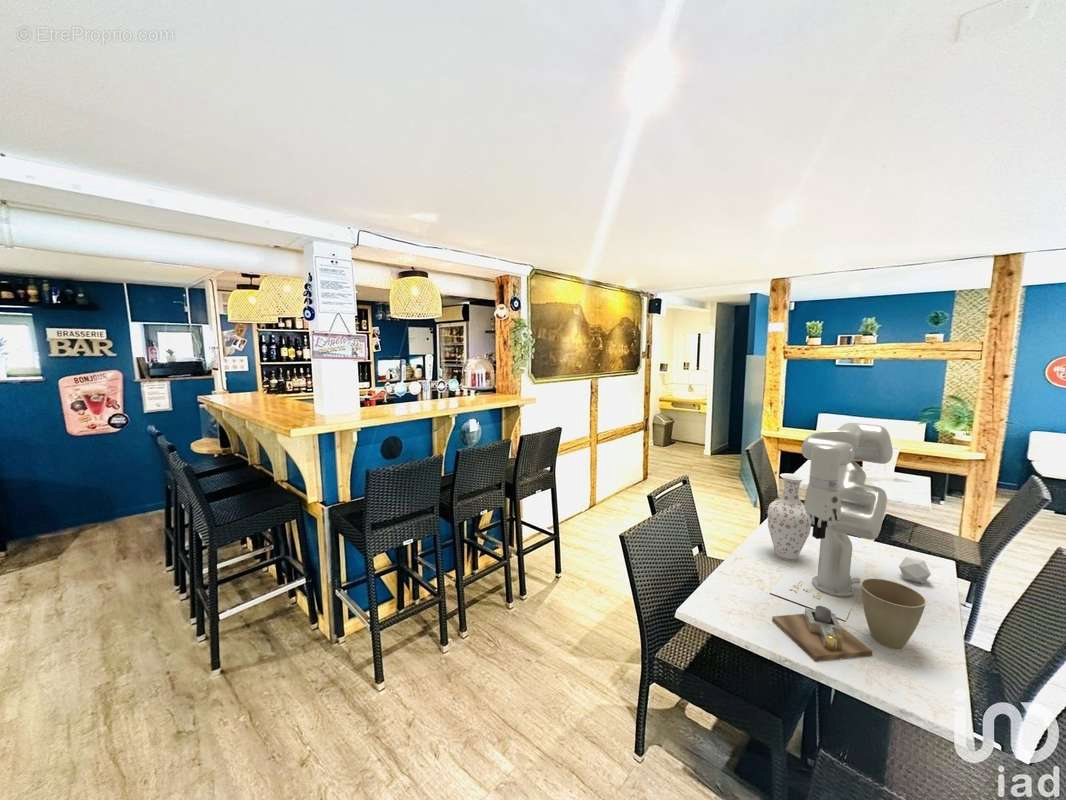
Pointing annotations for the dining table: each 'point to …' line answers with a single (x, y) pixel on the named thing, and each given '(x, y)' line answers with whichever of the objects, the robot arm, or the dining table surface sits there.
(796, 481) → the vase
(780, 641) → the dining table surface
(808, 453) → the robot arm
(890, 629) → the plant pot
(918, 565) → the die
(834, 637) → the square frame with handle
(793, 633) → the board
